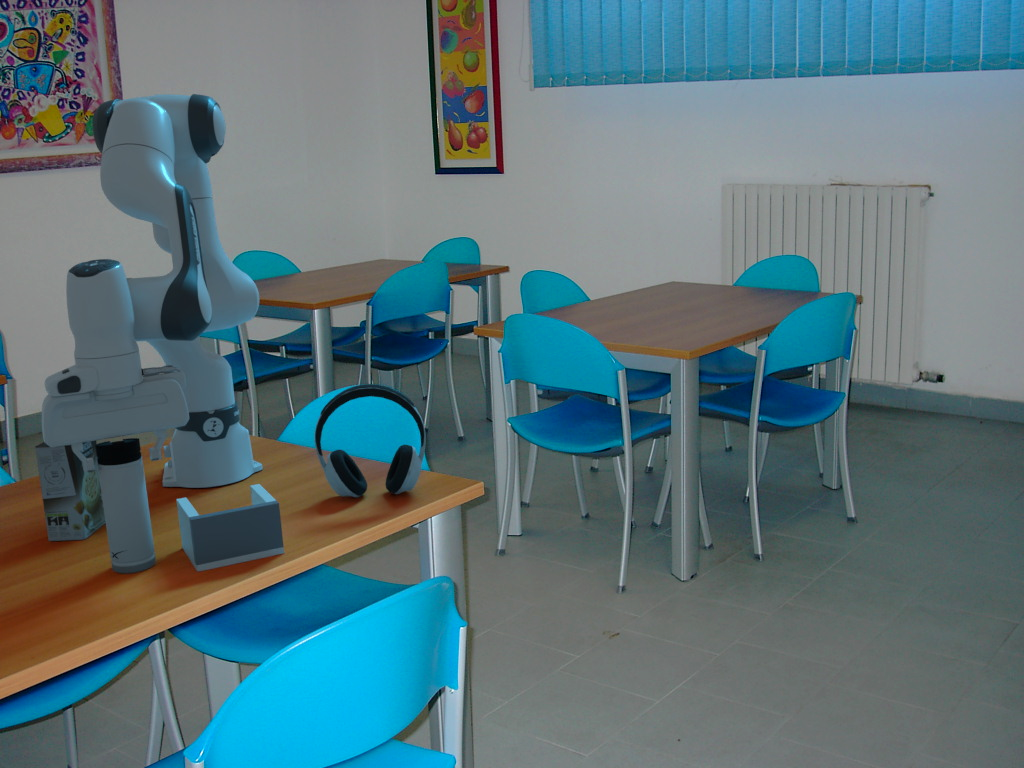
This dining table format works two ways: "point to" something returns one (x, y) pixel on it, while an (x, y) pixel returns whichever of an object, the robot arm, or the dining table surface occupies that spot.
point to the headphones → (342, 466)
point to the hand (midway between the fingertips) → (123, 465)
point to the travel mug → (125, 505)
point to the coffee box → (70, 492)
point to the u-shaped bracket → (231, 532)
